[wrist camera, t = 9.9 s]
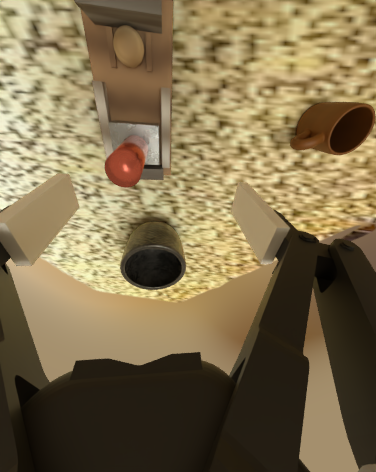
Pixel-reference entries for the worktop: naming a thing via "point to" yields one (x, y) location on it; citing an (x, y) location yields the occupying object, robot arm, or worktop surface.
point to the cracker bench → (132, 69)
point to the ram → (131, 151)
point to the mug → (334, 127)
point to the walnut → (128, 46)
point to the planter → (153, 257)
